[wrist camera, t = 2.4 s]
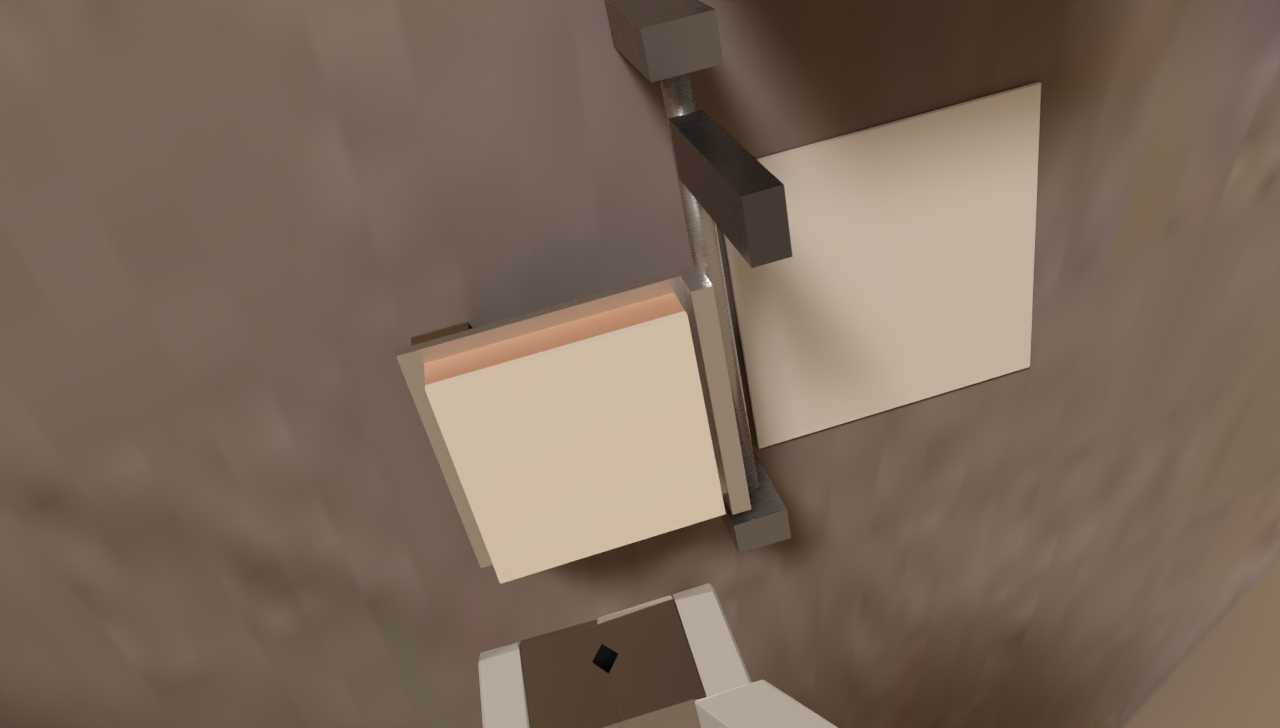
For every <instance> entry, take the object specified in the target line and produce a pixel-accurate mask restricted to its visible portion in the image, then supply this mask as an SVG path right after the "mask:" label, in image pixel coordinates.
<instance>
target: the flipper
mask: <svg viewBox="0 0 1280 728" xmlns="http://www.w3.org/2000/svg"><path fill="white" fill-rule="evenodd" d="M660 84H661V89H662V95H663V100H664V106H665V111H666V117H667V122H668V128H669V133H670V139H671V144H672V150H673V155H674V161H675V166H676V172H677V177H678V183H679V188H680V193H681V199H682V204H683V210H684V215H685V221H686V226H687V232H688V237H689V243H690V248H691V254H692V259H693V265H694V266H692V267H689V268H685V269H681V270H678V271H674V272H671V273H667V274H664V275H660V276H657V277H653V278H650V279H646V280H643V281H639V282H635V283H632V284H628V285H625V286H621V287H618V288H614V289H611V290H607V291H604V292H600V293H597V294H593V295H589V296H586V297H582V298H579V299H575V300H572V301H568V302H565V303H561V304H558V305H554V306H550V307H547V308H543V309H540V310H536V311H533V312H529V313H526V314H522V315H519V316H515V317H512V318H508V319H504V320H501V321H497V322H494V323H490V324H487V325H483V326H480V327H476V328H473V329H469V330H466V331H462V332H458V333H455V334H451V335H448V336H444V337H441V338H437V339H434V340H430V341H427V342H423V343H419V344H416V345H412V346H409V347H405V348H402V349H398V350H396V357H397V360H398V362H399V365H400V367H401V370H402V372H403V375H404V377H405V380H406V382H407V385H408V387H409V390H410V392H411V395H412V397H413V400H414V402H415V405H416V407H417V410H418V412H419V415H420V417H421V420H422V422H423V425H424V427H425V430H426V432H427V435H428V437H429V440H430V442H431V445H432V447H433V450H434V452H435V455H436V457H437V460H438V462H439V465H440V467H441V470H442V472H443V475H444V477H445V480H446V482H447V485H448V487H449V490H450V492H451V495H452V497H453V500H454V502H455V505H456V507H457V510H458V512H459V515H460V517H461V520H462V522H463V525H464V527H465V530H466V532H467V535H468V537H469V540H470V542H471V545H472V547H473V550H474V552H475V555H476V557H477V560H478V562H479V565H480V567H481V568H483V567H487V566H490V565H493V564H492V561H491V558H490V556H489V553H488V551H487V548H486V546H485V543H484V540H483V538H482V535H481V533H480V530H479V528H478V525H477V522H476V520H475V517H474V515H473V512H472V510H471V507H470V504H469V502H468V499H467V497H466V494H465V492H464V489H463V486H462V484H461V481H460V479H459V476H458V474H457V471H456V468H455V466H454V463H453V461H452V458H451V456H450V453H449V450H448V448H447V445H446V443H445V440H444V438H443V435H442V433H441V430H440V427H439V425H438V422H437V420H436V417H435V415H434V412H433V409H432V407H431V404H430V402H429V399H428V397H427V394H426V391H425V374H424V364H425V363H428V362H432V361H435V360H439V359H442V358H446V357H449V356H453V355H456V354H460V353H463V352H467V351H470V350H474V349H477V348H481V347H484V346H488V345H491V344H495V343H498V342H502V341H505V340H509V339H512V338H516V337H519V336H523V335H527V334H530V333H534V332H537V331H541V330H544V329H548V328H551V327H555V326H558V325H562V324H565V323H569V322H572V321H576V320H579V319H583V318H586V317H590V316H593V315H597V314H600V313H604V312H607V311H611V310H614V309H618V308H621V307H625V306H628V305H632V304H635V303H639V302H642V301H646V300H650V299H653V298H657V297H660V296H664V295H667V294H671V293H675V295H676V297H677V298H678V300H679V302H680V303H681V305H682V307H683V308H684V310H685V312H686V313H687V315H688V320H689V325H690V330H691V335H692V341H693V346H694V351H695V356H696V361H697V367H698V372H699V377H700V382H701V387H702V393H703V398H704V403H705V408H706V413H707V419H708V424H709V429H710V434H711V439H712V445H713V450H714V455H715V460H716V465H717V471H718V476H719V481H720V486H721V491H722V494H723V496H724V498H725V500H726V503H727V505H728V507H729V509H730V511H731V513H732V515H734V514H738V513H741V512H744V511H747V510H751V504H750V498H749V493H752V492H754V491H755V490H756V489H757V488H758V479H757V473H756V467H755V461H754V454H753V448H752V442H751V436H750V430H749V424H748V418H747V412H746V405H745V399H744V393H743V387H742V381H741V375H740V369H739V363H738V356H737V350H736V344H735V338H734V332H733V326H732V320H731V314H730V307H729V301H728V295H727V289H726V283H725V277H724V271H723V265H722V258H721V252H720V246H719V240H718V234H717V228H716V225H717V226H718V227H719V228H720V230H721V231H722V232H723V233H724V234H725V236H726V237H727V238H728V239H729V241H730V242H731V243H732V244H733V246H734V247H735V248H736V249H737V251H738V252H739V253H740V254H741V255H742V257H743V258H744V259H745V260H746V262H747V263H748V264H749V265H750V267H751V268H754V267H758V266H761V265H765V264H768V263H772V262H775V261H779V260H782V259H786V258H789V257H792V249H791V240H790V231H789V223H788V214H787V206H786V197H785V189H784V184H783V183H782V182H781V181H780V180H778V179H777V178H776V177H775V176H774V175H773V174H772V173H771V172H770V171H769V170H767V169H766V168H765V167H764V166H763V165H762V164H761V163H760V162H759V161H758V160H756V159H755V158H754V157H753V156H752V155H751V154H750V153H749V152H748V151H747V150H746V149H744V148H743V147H742V146H741V145H740V144H739V143H738V142H737V141H736V140H735V139H733V138H732V137H731V136H730V135H729V134H728V133H727V132H726V131H725V130H724V129H723V128H721V127H720V126H719V125H718V124H717V123H716V122H715V121H714V120H713V119H712V118H710V117H709V116H708V115H707V114H706V113H705V112H704V111H703V110H699V111H697V105H696V99H695V93H694V87H693V81H692V75H691V72H690V73H687V74H683V75H679V76H675V77H671V78H668V79H664V80H660Z"/></svg>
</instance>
